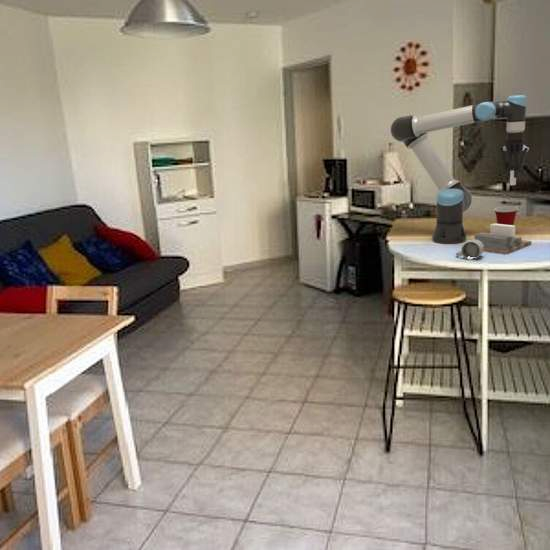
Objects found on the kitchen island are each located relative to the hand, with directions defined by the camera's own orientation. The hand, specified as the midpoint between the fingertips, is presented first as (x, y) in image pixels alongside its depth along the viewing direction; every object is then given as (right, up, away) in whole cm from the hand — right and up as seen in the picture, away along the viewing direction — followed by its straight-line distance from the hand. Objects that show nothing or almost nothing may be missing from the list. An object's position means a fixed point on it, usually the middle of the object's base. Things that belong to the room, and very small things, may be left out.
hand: (512, 184), depth 259 cm
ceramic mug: (-28, -34, -23) cm, 49 cm away
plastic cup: (+3, -21, +17) cm, 27 cm away
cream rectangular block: (-9, -27, -10) cm, 30 cm away
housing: (-9, -29, -10) cm, 32 cm away
